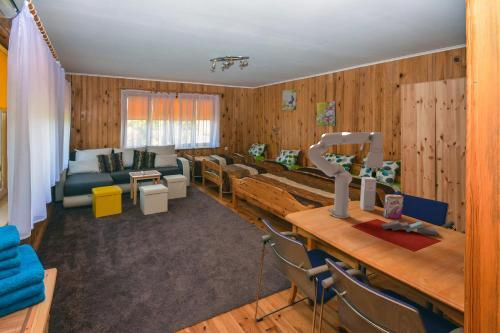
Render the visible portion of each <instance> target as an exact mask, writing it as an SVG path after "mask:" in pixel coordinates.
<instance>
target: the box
mask: <svg viewBox="0 0 500 333" xmlns="http://www.w3.org/2000/svg"><path fill="white" fill-rule="evenodd" d="M377 181H378V180H377V178H376V177H375V178H373V177H372V176H361V183H360V185H361V186H360V198H359V199H360V200H359V201H360V203H359V208H360V209H361V210H362V211H370V212H371V211H375V207H376V206H375V205H376V203H375V202H376V192H377Z"/></svg>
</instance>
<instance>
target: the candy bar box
mask: <svg viewBox="0 0 500 333" xmlns="http://www.w3.org/2000/svg"><path fill="white" fill-rule="evenodd" d="M403 206H404V196H403V195H402V194H401V195H399V194H385V195H384V207H383V216H382V217H384V218H386V219H402V212H403Z"/></svg>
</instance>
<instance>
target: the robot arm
mask: <svg viewBox="0 0 500 333" xmlns="http://www.w3.org/2000/svg"><path fill="white" fill-rule="evenodd" d="M320 137H321V138H320V141H319V142H318V143H315V144H313V145H311V146H309V149H308V152H307V156H308V158H309V160H310V162H311V163H312V164H313V165H314V166H315V167H317V168H318V169H319V170H320V171H322V173H324V174H325V175H326V176H327V177H334V178H335V179H334V204H333V205H334V206H333V208H327V212H328V213H331V216H332V217H334V218H338V219H348V218H350V216H351V215H350V214H349V213H348V211H349V209H348V208H349V196H350V195H349V192H350V190H349V189H350V188H349V185H350V183H351V182H352V181H353V176H352V174H351V173H350V172H349V171H348V170H346V169H345V168H344V167H343V166H342V165H340V164H338V163H337V162H330V160H328V159H326V158H325V157H323V156H322V155H323V154H325V152H327V151H328V149H330V148H331V147H332V145H333V146H335V145H351V144H352V145H355V144H356V145H357V144H366V143H370V144H369V151H368V152H367V157H366V164H365V165H366V166H365V168H366V169H367V170H369V171H371V172H370V173H371V175H370V177H373V178H375V179H376V177H377V172H379V171H380V170H383V169H384V154H383V152H385V149H384V148H383V141H384V139H383V138H384V133H383V132H378V131H374V132H372V131H361V132H359V131H358V132H346V131H345V132H344V131H343V132H340V131H339V132H327V133H324V134H322V135H321V136H320ZM374 168H375V169H374Z"/></svg>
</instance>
